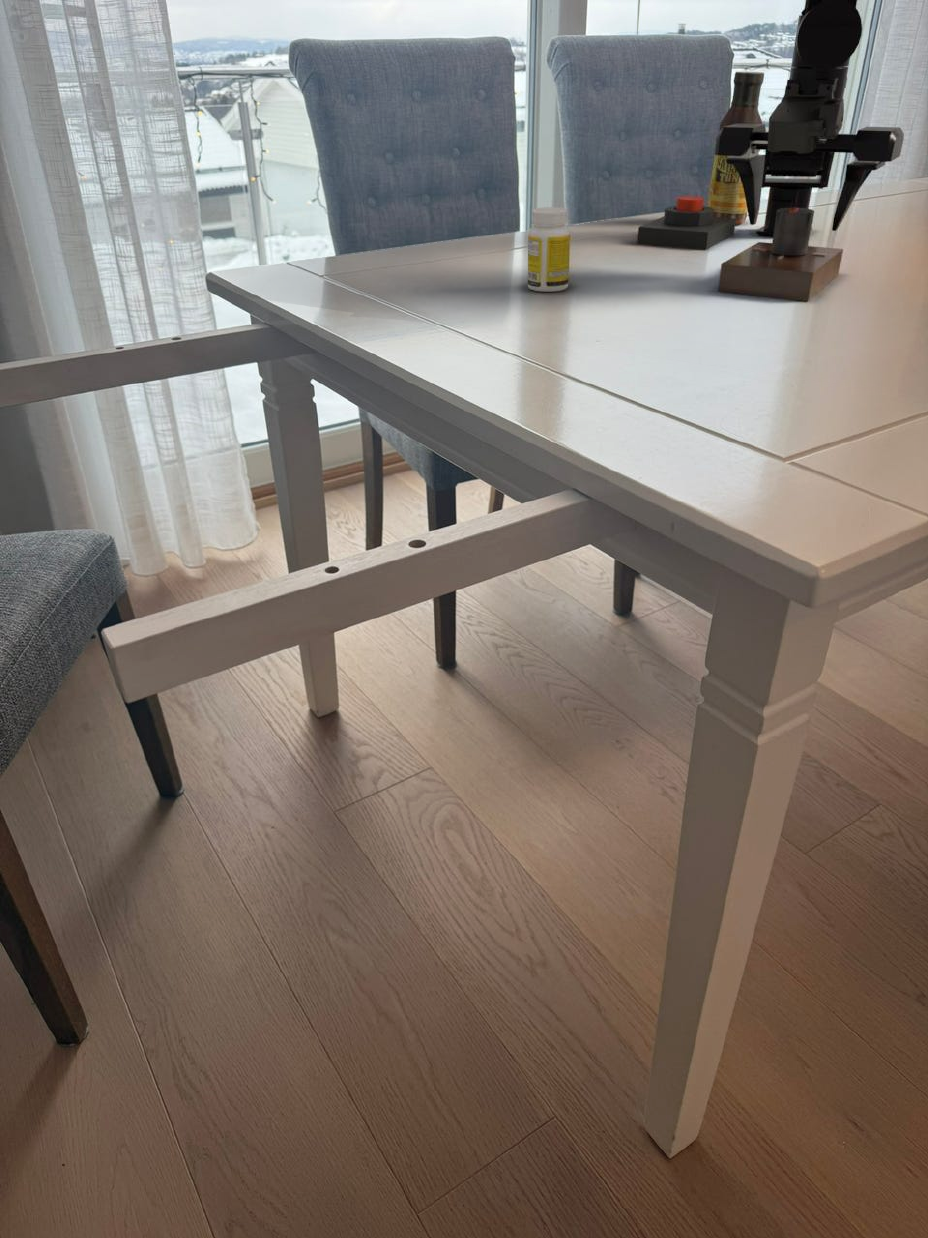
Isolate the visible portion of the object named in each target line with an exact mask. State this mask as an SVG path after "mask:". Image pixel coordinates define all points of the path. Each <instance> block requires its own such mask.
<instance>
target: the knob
mask: <svg viewBox="0 0 928 1238" xmlns="http://www.w3.org/2000/svg"><path fill="white" fill-rule="evenodd" d="M814 216H815V210H814V209H811V208H809V209H807V208H795V207H794V208H781V209H778V210H777V215H776V222H775V228H774V235H772V242H771V243H772V248H771V252H772V253H774V254H777V255H784V256H799V255H805V254H806V253H807V250H808V246H809V245H810V240H811V239H810V238H811V233H812V231H811V227H812V228H813V221H814Z"/></svg>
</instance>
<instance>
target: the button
mask: <svg viewBox="0 0 928 1238" xmlns="http://www.w3.org/2000/svg"><path fill="white" fill-rule="evenodd" d="M704 202H705V201H704V197H703V196H698V195H697V196H696V195H684V196H678V197H677V198H676V205H675V206H676V210H679V211H701V210H703V206H704Z"/></svg>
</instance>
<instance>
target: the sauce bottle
mask: <svg viewBox="0 0 928 1238" xmlns="http://www.w3.org/2000/svg"><path fill="white" fill-rule="evenodd" d="M764 79H765V72H763V71H735V73H734V78H733V93H732V100H731V103H730V107H729V109H728V110H727V112H726V114H725V115H724V117H723V118H722V120H721V122H720V124H719V131H718V133H719V132H720V131H721V129H722V128H723V127H725V126H729V125H733V124H763V121H762V118H761V115H760V112H759V109H758V108H759V105H760V103H759V100H760V93H761V89H762V85H763V83H764ZM728 157H729V156H722V155H715V154H714V157H713V163H712V164H713V165H712V171H711V176H710V183H709V191H708V196H707V197H708V198H707V203H706V206H707V207H711V208H713V209H714V213H713V217H722V218H736V222H735V226H737V225H742V224H743V223H745V222H746V220H747V216H748V210H747V204H746V199H745V194H744V189H743V185H742V182H741V179H740V176H739V173H738V172H737V170H736V168H735V167H734V165H732V164H726V159H727V158H728Z"/></svg>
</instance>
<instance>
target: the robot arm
mask: <svg viewBox="0 0 928 1238" xmlns="http://www.w3.org/2000/svg"><path fill="white" fill-rule="evenodd" d="M804 1H805V2H804V8H803V10H802V11H801V13H800V15H798V19H797V24H796V25H797V26H796V31H795V32H796V33H795V38H794V46H793V52H792V59H791V66H790V72H789V78H788V79H786V85H785V87H784V94H783V97H782V99H781V101H780V102H779V103H778V105H777V106H776V107H775V109H774V110H773V111H772V113H771V115H770V116H769V118H768V130H767V129H766V124H764V123H762V124H733V125H729V126H725V127H723V128H722V129H721V131H720V132H719V131H718V133H717V136H716V139H715V148H714V156H715V155H722V156H729V157H728V158H727V159H726V164H732V165H734V167H735V168H736V170H737V172H738V173H739V176H740V179H741V182H742V185H743V189H744V194H745V199H746V204H747V210H748V213H747V216H748V220H749V225H751V226H754V225H756V224H757V220H758V217H759V211H760V207H761V196H762V189H764V188H769V190H768V191H769V192H768V198H767V204H766V209H765V218H764V224H763V226H762V227H759V228H758V229H756V230H755V235H763V236H773V235H774V228H775V222H776V215H777V210H778V209H781V208H794V207H795V208H807V209H810V204H811V198H812V191H813V189H819V190H821V189H822V190H823V189H824V188H828V187H829V182H830V175H831V171H832V166H833V162H834V158H835V154H836V153H844V154H853V157H854V160H853V161H851V162H849V163H847V164H846V167H845V175H844V180H843V184H842V187H841V192H840V194H839V198H838V202H837V204H836V205H837V206H836V209H835V211H834V215H833V221H832V226H831V227H832V228H831V230H832V232H836V231H837V230H838V229H839V228H840V226H841V224H842V222H843V220H844V218H845V216H846V214H847V212H848V211H849V209H850V207H851V205H852V204H853V201H854V199H855V197H856V196H857V194H858V192H859V190H860V189H861V187H862V186H863V185H864V183H865V182H866V181H867V179H868V177H869V176H870V174H872V172H873V171H877V170H878V169H880V168H882V167H884V166H885V165H886V163H887V162H893V161H894V160H896V159H898V158H899V157H901V152H902V148H903V143H904V136H905V134H904V132H903V130H902V128H901V127H900V126H899V127H896V126H895V127H894V126H865V127H862V128H860V129H857V132H856V133H840V131H841V130H842V127H843V123H844V113H845V104H844V103H845V102H844V100H845V99H844V96H845V95H844V94H845V89H846V87H847V83H848V71H849V66H850V60H851V57H852V56H853V54H854V53H855V52H856V50H857V48H858V47H859V44H860V41H861V38H862V35H863V22H862V17H861V15H860V11H859V10H858V8H857V5H858V4H857V3H858V0H804ZM761 150H762V151H765V153H764V154H759V153H760V152H761ZM767 176H770V177H771V178H770V177H767ZM772 177H773V178H772ZM775 177H776V178H775ZM777 177H779V178H777ZM780 177H785V178H780ZM786 177H799V178H786ZM800 177H802V178H800ZM803 177H804V178H803ZM805 177H806V178H805ZM807 177H808V178H807ZM816 177H818V178H816ZM812 230H813V226H812V227H811V232H812Z"/></svg>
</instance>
